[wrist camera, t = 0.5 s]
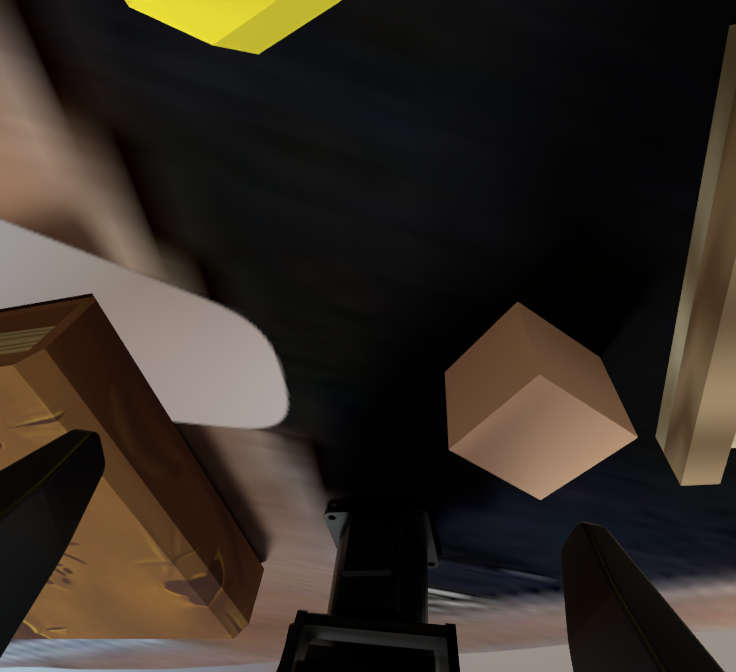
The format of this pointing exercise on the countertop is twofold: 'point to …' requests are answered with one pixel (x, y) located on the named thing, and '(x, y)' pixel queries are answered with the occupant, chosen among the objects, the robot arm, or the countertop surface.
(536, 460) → the cube
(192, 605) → the diary
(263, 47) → the faceted yellow capsule
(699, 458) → the arena
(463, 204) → the countertop surface
